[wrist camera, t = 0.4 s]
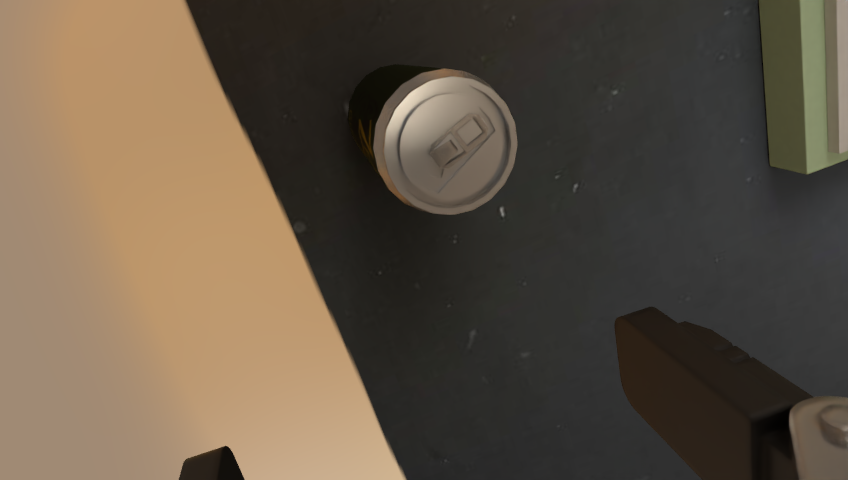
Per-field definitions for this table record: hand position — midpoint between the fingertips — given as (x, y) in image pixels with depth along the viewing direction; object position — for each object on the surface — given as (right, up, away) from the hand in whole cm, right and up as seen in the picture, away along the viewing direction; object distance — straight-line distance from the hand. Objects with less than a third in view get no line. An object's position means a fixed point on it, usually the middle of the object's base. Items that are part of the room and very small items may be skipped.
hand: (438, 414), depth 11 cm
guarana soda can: (-2, +10, +20) cm, 23 cm away
